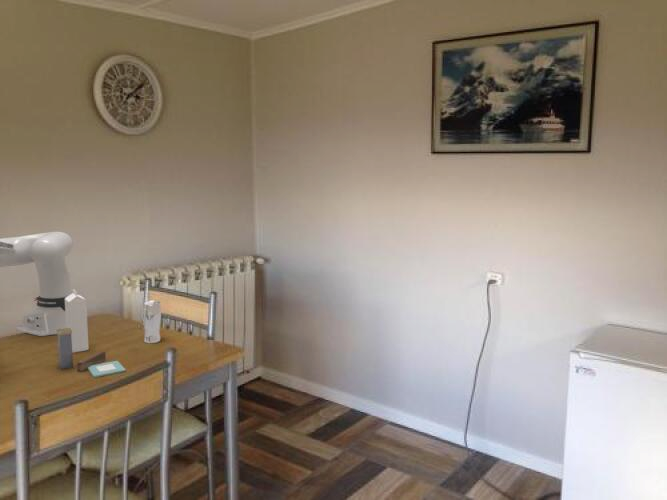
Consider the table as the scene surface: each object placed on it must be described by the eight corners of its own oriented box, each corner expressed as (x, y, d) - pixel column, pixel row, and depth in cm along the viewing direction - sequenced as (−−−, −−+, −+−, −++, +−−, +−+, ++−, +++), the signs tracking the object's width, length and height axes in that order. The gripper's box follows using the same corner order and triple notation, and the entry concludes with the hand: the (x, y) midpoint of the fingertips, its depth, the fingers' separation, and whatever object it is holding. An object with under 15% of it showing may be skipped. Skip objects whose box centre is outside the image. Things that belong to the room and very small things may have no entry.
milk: (71, 353, 207) (67, 293, 204) (67, 348, 212) (63, 289, 208) (89, 350, 211) (85, 291, 207) (84, 345, 216) (81, 287, 212)
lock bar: (60, 370, 191) (58, 332, 189) (58, 366, 195) (56, 329, 193) (73, 367, 194) (71, 330, 192) (71, 364, 197) (69, 327, 195)
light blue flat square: (94, 377, 186) (94, 375, 186) (86, 367, 194) (86, 365, 194) (125, 371, 192) (125, 369, 191) (117, 362, 200) (117, 360, 199)
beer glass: (158, 343, 219) (157, 305, 217) (140, 343, 219) (139, 304, 217) (164, 338, 226) (163, 300, 224) (146, 337, 226) (145, 300, 224)
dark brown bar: (77, 371, 191) (77, 362, 190) (100, 358, 202) (100, 350, 202) (82, 371, 190) (82, 363, 190) (105, 359, 202) (105, 351, 201)
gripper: (-38, 246, 186) (10, 253, 193) (-40, 258, 169) (14, 265, 176) (-35, 227, 185) (14, 235, 193) (-36, 237, 168) (18, 245, 176)
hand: (14, 249), depth 184 cm, fingers open, 8 cm apart
